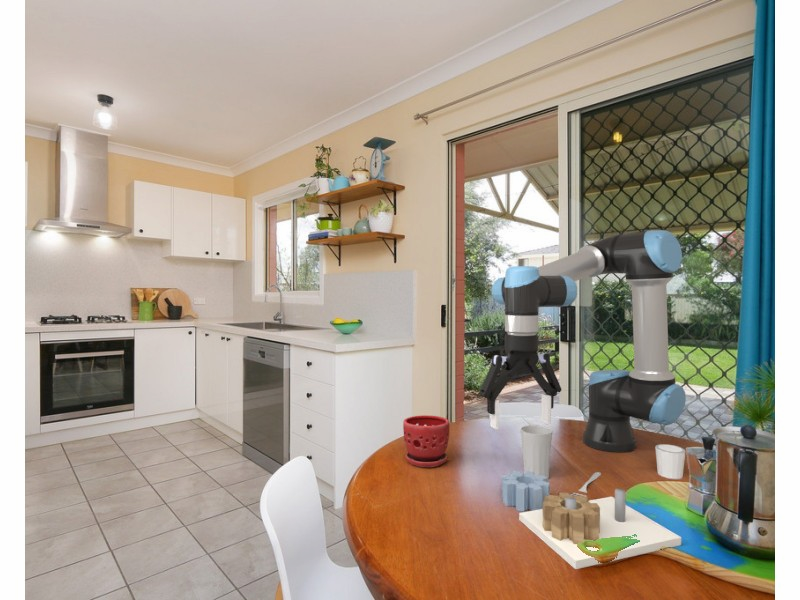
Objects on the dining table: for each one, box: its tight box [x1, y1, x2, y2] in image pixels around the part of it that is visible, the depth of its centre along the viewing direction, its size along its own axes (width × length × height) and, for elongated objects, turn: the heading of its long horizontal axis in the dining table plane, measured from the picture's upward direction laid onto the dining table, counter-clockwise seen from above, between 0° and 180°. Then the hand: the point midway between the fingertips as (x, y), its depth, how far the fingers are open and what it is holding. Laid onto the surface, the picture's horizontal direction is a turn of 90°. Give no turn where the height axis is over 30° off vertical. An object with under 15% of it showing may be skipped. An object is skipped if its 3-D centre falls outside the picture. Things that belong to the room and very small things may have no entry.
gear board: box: [518, 488, 682, 570], centre depth 93 cm, size 24×18×8 cm
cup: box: [520, 424, 553, 479], centre depth 121 cm, size 8×8×12 cm
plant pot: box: [402, 414, 450, 469], centre depth 131 cm, size 13×13×12 cm
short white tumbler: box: [655, 443, 686, 480], centre depth 120 cm, size 7×7×7 cm
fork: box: [569, 471, 602, 498], centre depth 115 cm, size 3×24×2 cm, turn 142°
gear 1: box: [501, 470, 551, 513], centre depth 106 cm, size 10×10×5 cm
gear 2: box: [542, 492, 600, 544], centre depth 91 cm, size 10×10×5 cm
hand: (520, 425), depth 106 cm, fingers open, 13 cm apart
